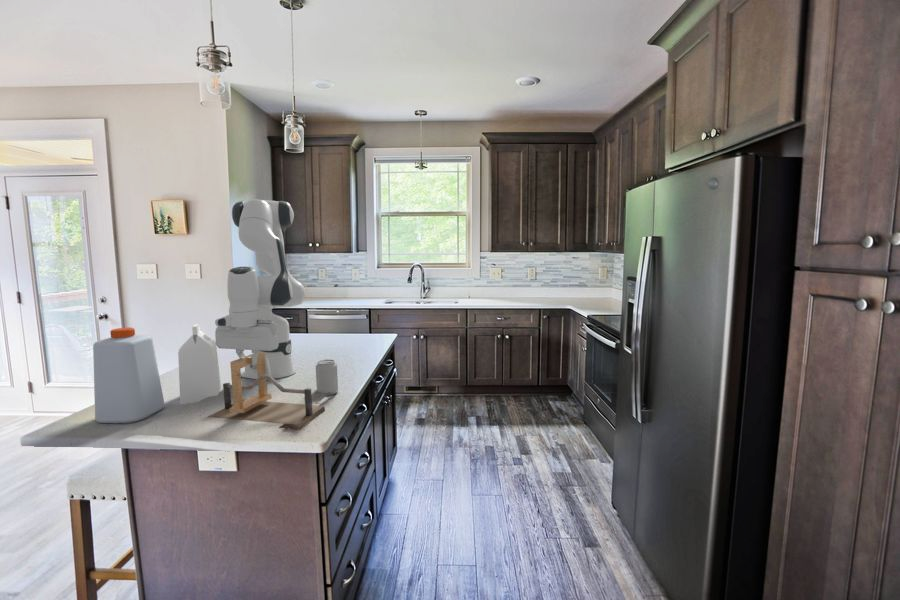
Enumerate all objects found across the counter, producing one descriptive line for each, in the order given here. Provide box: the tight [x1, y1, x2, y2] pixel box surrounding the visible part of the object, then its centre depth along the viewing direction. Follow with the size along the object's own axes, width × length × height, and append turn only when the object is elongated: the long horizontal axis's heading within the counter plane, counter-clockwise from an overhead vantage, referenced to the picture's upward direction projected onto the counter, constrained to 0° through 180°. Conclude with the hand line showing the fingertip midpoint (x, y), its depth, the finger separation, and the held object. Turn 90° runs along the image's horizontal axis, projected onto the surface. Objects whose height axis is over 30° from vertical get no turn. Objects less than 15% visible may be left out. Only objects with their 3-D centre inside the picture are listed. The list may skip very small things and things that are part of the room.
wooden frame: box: [229, 352, 273, 413], centre depth 135 cm, size 5×13×16 cm, turn 167°
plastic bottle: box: [92, 327, 165, 424], centre depth 135 cm, size 15×15×28 cm
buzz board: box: [207, 375, 326, 430], centre depth 134 cm, size 31×15×13 cm, turn 77°
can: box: [315, 358, 339, 397], centre depth 154 cm, size 8×8×12 cm
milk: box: [177, 323, 223, 405], centre depth 152 cm, size 12×12×26 cm
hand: (248, 363), depth 134 cm, fingers closed on wooden frame
